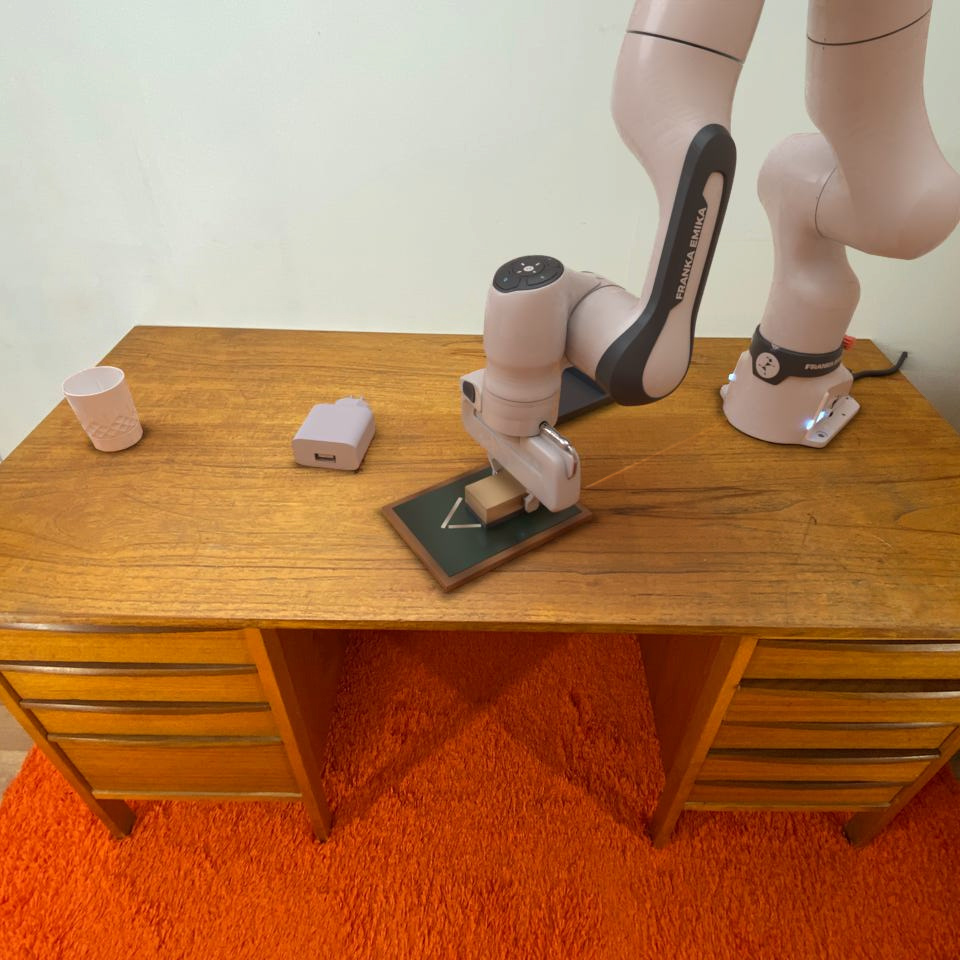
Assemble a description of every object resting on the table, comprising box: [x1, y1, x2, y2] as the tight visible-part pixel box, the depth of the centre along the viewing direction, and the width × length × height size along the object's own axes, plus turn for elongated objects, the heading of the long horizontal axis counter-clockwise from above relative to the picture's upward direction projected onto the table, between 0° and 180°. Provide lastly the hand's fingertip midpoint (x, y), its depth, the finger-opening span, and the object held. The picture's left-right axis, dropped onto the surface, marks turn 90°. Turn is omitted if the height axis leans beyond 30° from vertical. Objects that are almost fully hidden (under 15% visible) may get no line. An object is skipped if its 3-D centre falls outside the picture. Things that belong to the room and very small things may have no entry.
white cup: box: [60, 365, 144, 453], centre depth 91 cm, size 8×8×10 cm
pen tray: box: [553, 366, 616, 428], centre depth 103 cm, size 18×14×2 cm
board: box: [381, 461, 594, 593], centre depth 82 cm, size 22×16×1 cm
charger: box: [290, 394, 377, 471], centre depth 94 cm, size 5×9×15 cm
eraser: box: [465, 470, 542, 530], centre depth 82 cm, size 12×5×4 cm, turn 123°
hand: (514, 493), depth 82 cm, fingers closed on eraser, 5 cm apart
